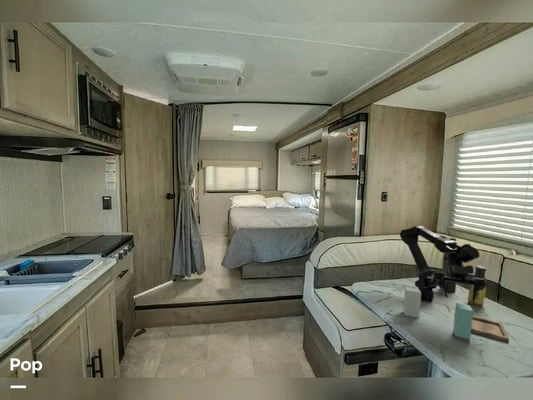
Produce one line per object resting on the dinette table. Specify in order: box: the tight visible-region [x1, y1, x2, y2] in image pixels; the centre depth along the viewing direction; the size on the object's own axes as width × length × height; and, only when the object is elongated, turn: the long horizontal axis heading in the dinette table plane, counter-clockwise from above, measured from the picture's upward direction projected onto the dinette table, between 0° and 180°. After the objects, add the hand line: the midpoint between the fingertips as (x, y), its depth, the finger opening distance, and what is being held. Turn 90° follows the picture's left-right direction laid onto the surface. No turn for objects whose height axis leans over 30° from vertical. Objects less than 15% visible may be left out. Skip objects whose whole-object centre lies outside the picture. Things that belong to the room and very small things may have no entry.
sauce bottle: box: [467, 265, 488, 308], centre depth 130 cm, size 6×6×20 cm
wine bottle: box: [441, 237, 457, 293], centre depth 145 cm, size 6×6×30 cm
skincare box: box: [403, 286, 422, 319], centre depth 119 cm, size 6×4×12 cm
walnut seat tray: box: [471, 315, 510, 343], centre depth 110 cm, size 13×13×2 cm
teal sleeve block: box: [452, 302, 474, 344], centre depth 103 cm, size 4×4×13 cm
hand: (459, 299), depth 108 cm, fingers open, 9 cm apart
